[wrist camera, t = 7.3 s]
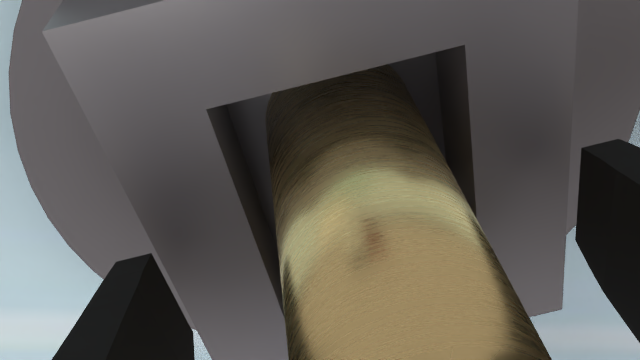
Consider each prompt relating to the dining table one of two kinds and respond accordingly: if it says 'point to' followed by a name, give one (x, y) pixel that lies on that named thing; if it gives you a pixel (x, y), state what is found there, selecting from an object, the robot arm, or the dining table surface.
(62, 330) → the dining table surface
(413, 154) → the shaft
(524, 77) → the hub
